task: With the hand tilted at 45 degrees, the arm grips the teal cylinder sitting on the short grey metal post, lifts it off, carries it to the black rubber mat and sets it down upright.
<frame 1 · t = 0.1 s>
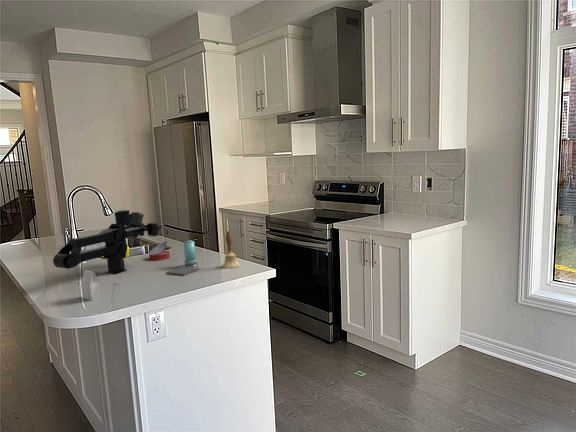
hand: (154, 226, 220), 17 cm above the countertop, tool horizontal, fingers open, 9 cm apart
hand bell: (231, 266, 200), on the countertop
mat: (182, 271, 194), on the countertop
teal cylinder: (190, 261, 204), point 2 cm above the countertop, touching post
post: (190, 265, 204), on the countertop
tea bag: (92, 298, 163), on the countertop
canned food: (159, 259, 224), on the countertop
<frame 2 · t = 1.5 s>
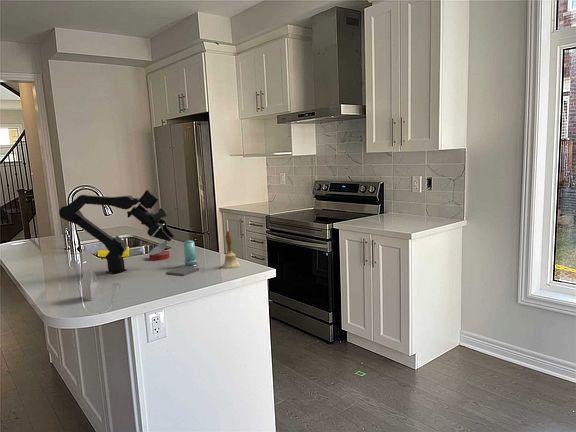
hand: (171, 238, 202), 13 cm above the countertop, tool tilted 45°, fingers open, 9 cm apart
nothing on the countertop moved.
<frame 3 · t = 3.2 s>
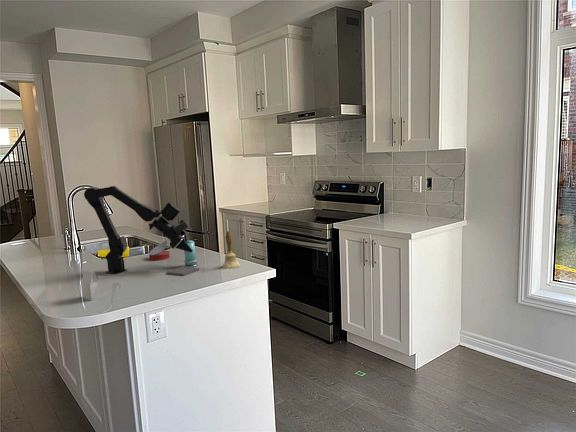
hand: (192, 250, 203), 7 cm above the countertop, tool tilted 45°, fingers closed on teal cylinder, 5 cm apart
teal cylinder: (190, 261, 204), point 2 cm above the countertop, touching gripper, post
everything else where it was.
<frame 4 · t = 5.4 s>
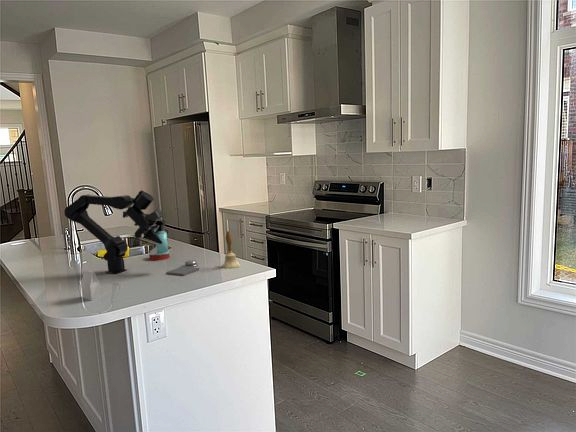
hand: (164, 242, 193), 13 cm above the countertop, tool tilted 45°, fingers closed on teal cylinder, 5 cm apart
teal cylinder: (162, 253, 194), point 8 cm above the countertop, touching gripper
everything else where it was.
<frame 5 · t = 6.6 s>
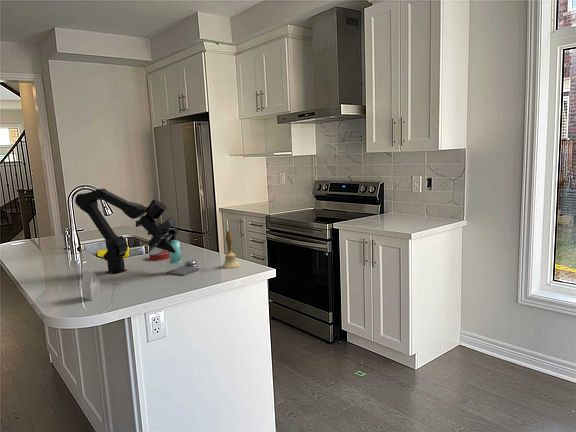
hand: (177, 250, 193), 9 cm above the countertop, tool tilted 45°, fingers closed on teal cylinder, 5 cm apart
teal cylinder: (175, 262, 194), point 4 cm above the countertop, touching gripper
everything else where it was.
when the fingers open (7 cm above the countertop, at t = 7.7 s): teal cylinder drops 1 cm, resting on mat.
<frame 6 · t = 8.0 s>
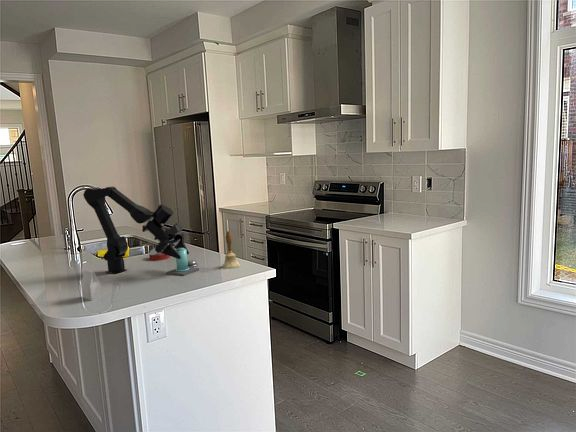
hand: (184, 256, 192), 7 cm above the countertop, tool tilted 45°, fingers open, 8 cm apart
teal cylinder: (182, 270, 194), point 1 cm above the countertop, touching mat
everything else where it was.
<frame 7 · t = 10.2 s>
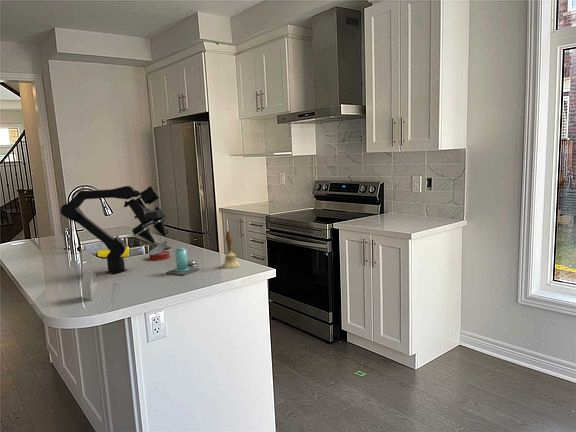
hand: (159, 239, 201), 13 cm above the countertop, tool tilted 30°, fingers open, 9 cm apart
nothing on the countertop moved.
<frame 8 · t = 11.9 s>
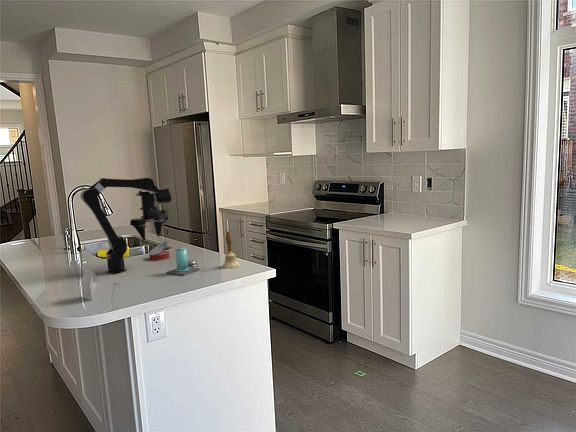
hand: (151, 237, 208), 13 cm above the countertop, tool pointing down, fingers open, 9 cm apart
nothing on the countertop moved.
at the end: teal cylinder inside the target area on the mat (0.0 cm from its centre), point 0.9 cm above the mat's base; teal cylinder tilted 1°; the gripper is holding nothing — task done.
